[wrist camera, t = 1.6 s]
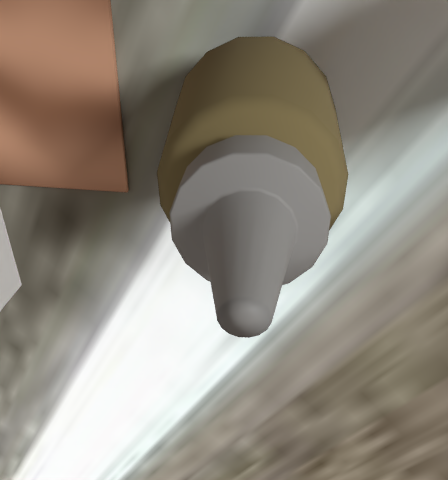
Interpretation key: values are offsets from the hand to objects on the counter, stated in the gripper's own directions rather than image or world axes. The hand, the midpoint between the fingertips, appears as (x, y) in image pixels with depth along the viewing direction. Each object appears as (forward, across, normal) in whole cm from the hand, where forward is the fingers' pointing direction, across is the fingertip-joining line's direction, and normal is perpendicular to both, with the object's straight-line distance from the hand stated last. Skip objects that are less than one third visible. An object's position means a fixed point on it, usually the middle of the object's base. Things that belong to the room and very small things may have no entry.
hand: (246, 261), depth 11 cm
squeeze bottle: (+16, 0, 0) cm, 16 cm away
